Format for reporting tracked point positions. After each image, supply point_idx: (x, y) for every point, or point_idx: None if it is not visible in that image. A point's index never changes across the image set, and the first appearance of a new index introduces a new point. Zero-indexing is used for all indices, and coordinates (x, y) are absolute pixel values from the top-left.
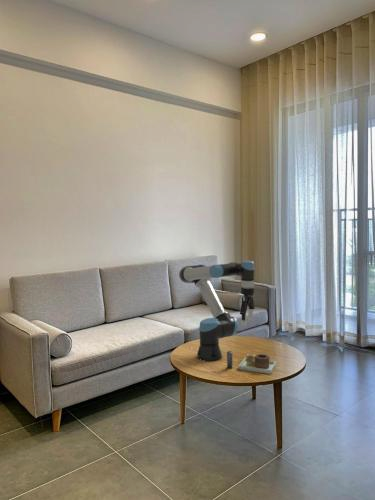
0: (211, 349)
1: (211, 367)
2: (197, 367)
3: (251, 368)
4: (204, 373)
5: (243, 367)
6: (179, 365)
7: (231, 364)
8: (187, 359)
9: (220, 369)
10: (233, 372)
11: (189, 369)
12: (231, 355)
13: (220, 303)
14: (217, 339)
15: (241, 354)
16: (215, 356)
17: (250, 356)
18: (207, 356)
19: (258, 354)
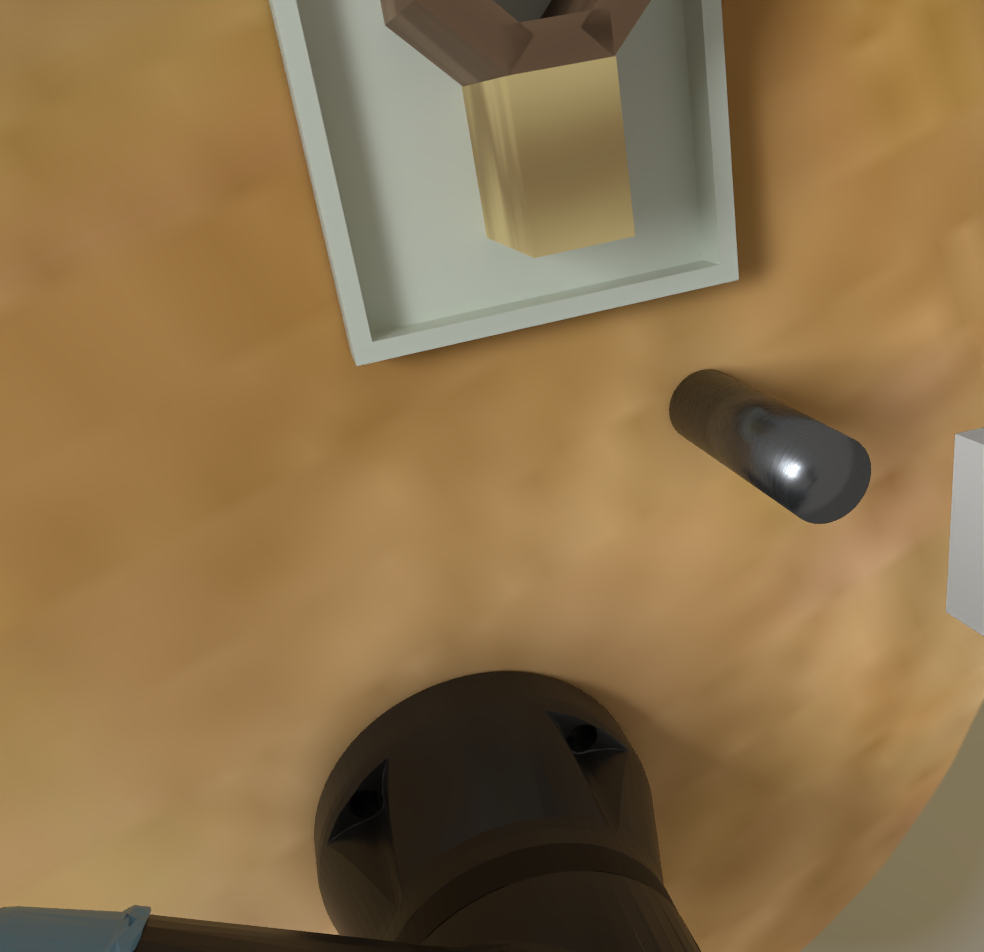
0: (632, 827)
1: (776, 595)
2: (835, 711)
3: (717, 61)
4: None
5: (726, 197)
6: (854, 872)
7: (747, 386)
8: None
9: None
10: (820, 284)
11: (914, 736)
12: (822, 424)
13: None
14: (562, 920)
15: (96, 550)
16: (579, 719)
17: (621, 152)
18: (647, 785)
19: (477, 34)
